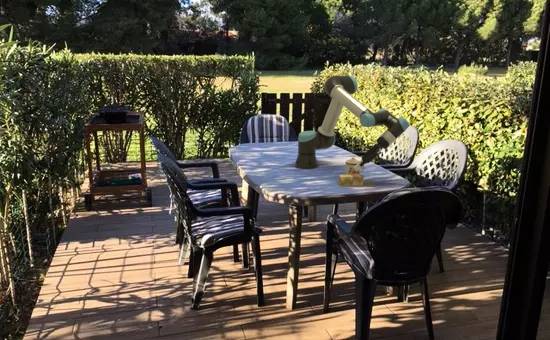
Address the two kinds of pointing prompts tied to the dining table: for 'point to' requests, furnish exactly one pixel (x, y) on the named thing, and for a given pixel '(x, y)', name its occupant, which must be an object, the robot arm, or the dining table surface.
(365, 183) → the mat
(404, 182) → the dining table surface
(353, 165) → the teacup with lid
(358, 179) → the birch block
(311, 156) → the robot arm
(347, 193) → the dining table surface
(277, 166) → the dining table surface
